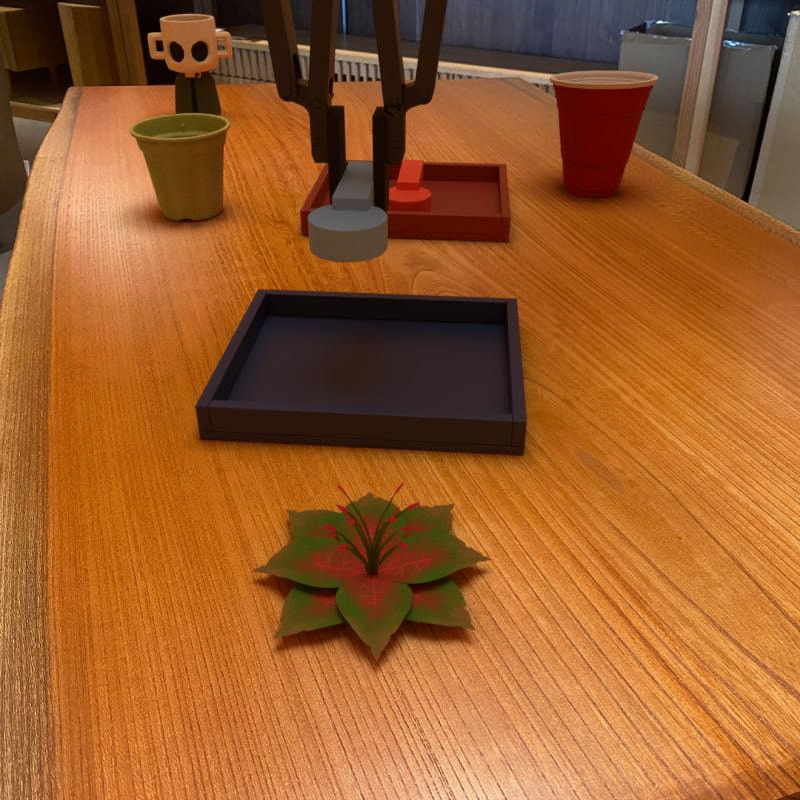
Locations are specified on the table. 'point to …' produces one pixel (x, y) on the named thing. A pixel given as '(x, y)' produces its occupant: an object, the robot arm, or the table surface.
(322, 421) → the navy tray
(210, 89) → the pink mug head figurine
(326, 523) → the lily flower
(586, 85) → the plastic cup
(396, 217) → the brick tray
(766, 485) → the table surface
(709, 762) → the table surface
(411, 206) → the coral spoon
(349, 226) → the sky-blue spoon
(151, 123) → the plant pot
